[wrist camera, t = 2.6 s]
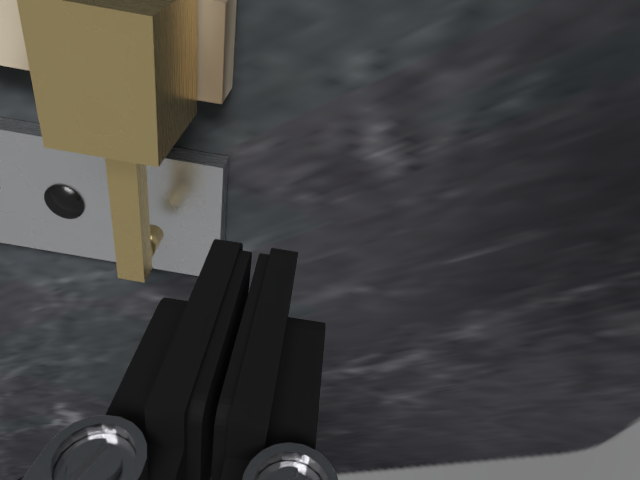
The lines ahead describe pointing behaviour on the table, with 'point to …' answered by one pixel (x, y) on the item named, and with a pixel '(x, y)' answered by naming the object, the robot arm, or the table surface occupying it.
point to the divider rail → (212, 45)
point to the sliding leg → (115, 97)
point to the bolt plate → (106, 200)
